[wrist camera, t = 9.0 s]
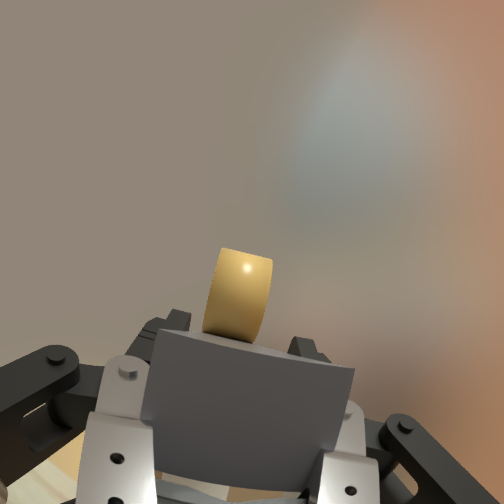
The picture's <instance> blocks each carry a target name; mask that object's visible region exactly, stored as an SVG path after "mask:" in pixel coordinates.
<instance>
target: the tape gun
mask: <svg viewBox="0 0 504 504" xmlns="http://www.w3.org/2000/svg"><path fill="white" fill-rule="evenodd" d="M272 269H273V263H272V260H271V259H268V258H264V257H260V256H256V255H251V254H248V253H243V252H239V251H235V250H231V249H227V248H222V249H221V252H220V255H219V258H218V261H217V265H216V269H215V272H214V276H213V280H212V284H211V288H210V292H209V297H208V301H207V305H206V310H205V315H204V321H203V326H202V332H192V331H178V330H166V329H158V331H157V336H156V340H155V344H154V349H153V353H152V358H151V362H150V367H149V372H148V376H147V381H146V386H145V391H144V397H143V402H142V407H141V413H140V418H139V419H144V420H152V425H153V457H154V470H157V471H160V472H164V473H167V474H171V475H175V476H179V477H183V478H188V479H192V480H197V481H202V482H207V483H212V484H218V485H224V486H231V487H238V488H246V489H256V490H267V491H282V492H300V491H301V489H302V487H303V485H304V483H305V481H306V479H307V477H308V475H309V473H310V471H311V469H312V467H313V465H314V463H315V460H316V458H317V456H318V454H319V452H320V449H321V448H323V449H327V450H332V451H334V450H335V447H336V443H337V440H338V436H339V433H340V429H341V426H342V422H343V418H344V414H345V411H346V407H347V402H348V398H349V394H350V390H351V385H352V381H353V376H354V371H355V369H354V368H349V367H344V366H339V365H335V364H331V363H326V362H322V361H317V360H313V359H309V358H304V357H300V356H296V355H292V354H288V353H284V352H280V351H277V350H273V349H269V348H266V347H262V346H258V345H255V344H252V343H253V342H254V341H255V339H256V337H257V334H258V332H259V329H260V326H261V323H262V319H263V316H264V312H265V308H266V304H267V300H268V295H269V290H270V285H271V278H272Z"/></svg>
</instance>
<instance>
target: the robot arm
mask: <svg viewBox="0 0 504 504" xmlns="http://www.w3.org/2000/svg"><path fill="white" fill-rule="evenodd" d="M190 321H191V313H188V312H184V311H180V310H176V309H172V310H171V312H170V314H169V315H168V317H167V319H166V320H165V319H161V318H158V317H156V318H154V319H152V320H150V321H148V322H147V323H146V324H145V326H144V327H143V328H142V330H141V331H140V333H139V334H138V336H137V337H136V339H135V340H134V341H133V343H132V344H131V346H130V347H129V349H128V350H127V352H126V353H125V355H121V356H116V357H113V358H111V359H110V360H108V361H107V363H106V365H105V366H92V365H85V364H79V358H78V356H77V354H76V353H75V352H74V351H73V350H72V349H70V348H68V347H65V346H62V345H49V346H46V347H43V348H41V349H39V350H37V351H34V352H32V353H30V354H28V355H26V356H24V357H22V358H20V359H17V360H15V361H13V362H11V363H9V364H7V365H5V366H2V367H0V504H6V502H7V497H8V492H7V488H6V487H8V486H9V485H11V484H12V483H13V482H15V481H16V480H18V479H19V478H21V477H22V476H23V475H25V474H26V473H28V472H29V471H30V470H32V469H33V468H35V467H36V466H37V465H39V464H40V463H42V462H43V461H44V460H46V459H47V458H48V457H50V456H51V455H52V454H54V453H55V452H56V451H58V450H59V449H61V448H62V447H63V446H65V445H66V444H67V443H69V442H70V441H71V440H73V439H74V438H75V437H77V436H78V435H79V434H80V433H82V432H83V431H84V430H85V429H86V430H85V436H84V442H83V447H82V454H81V460H80V467H79V475H78V483H77V493H76V498H74V499H72V500H69V501H67V502H64V503H61V504H500V503H499V502H498V501H497V500H496V499H495V498H494V497H493V496H492V495H491V494H490V493H489V492H488V491H487V490H486V489H485V488H484V487H483V486H482V485H481V484H480V483H479V482H478V481H477V480H476V479H475V478H474V477H473V476H471V475H470V474H469V473H468V471H467V470H465V468H463V467H462V466H461V465H460V464H459V463H458V462H457V461H456V460H455V459H454V458H453V457H452V456H451V455H450V454H449V453H448V452H447V451H446V450H445V449H444V448H443V447H442V446H441V445H440V444H439V443H438V442H437V441H436V440H435V439H434V438H433V437H432V436H431V435H430V434H429V433H428V432H427V431H426V430H425V429H424V428H423V427H422V426H421V425H420V424H419V423H418V422H417V421H416V420H415V419H413V418H412V417H410V416H407V415H404V414H392V415H390V416H389V417H388V419H387V420H386V422H385V423H381V422H376V421H373V420H369V419H366V418H364V414H363V411H362V410H361V408H360V407H359V406H358V405H357V404H355V403H354V402H352V401H350V400H348V402H347V407H346V411H345V414H344V418H343V422H342V426H341V429H340V433H339V436H338V440H337V443H336V447H335V450H334V451H332V450H327V449H323V448H321V449H320V452H319V454H318V456H317V458H316V460H315V463H314V465H313V467H312V469H311V471H310V473H309V475H308V477H307V479H306V481H305V483H304V485H303V487H302V489H301V491H300V492H284V495H283V498H270V499H263V500H255V501H245V502H228V501H225V500H222V499H219V498H216V497H214V496H211V495H208V494H206V493H203V492H201V491H198V490H196V489H193V488H191V487H189V486H185V485H181V484H176V483H172V482H168V481H165V480H161V479H157V478H155V474H154V457H153V425H152V420H144V419H139V418H140V413H141V407H142V402H143V397H144V391H145V386H146V381H147V376H148V372H149V367H150V362H151V358H152V353H153V349H154V344H155V340H156V336H157V331H158V329H166V330H178V331H189V326H190ZM287 353H288V354H292V355H296V356H300V357H304V358H309V359H313V360H317V361H322V362H326V363H331V361H330V360H329V359H328V358H327V357H326V356H325V355H324V354H323V353H318V352H317V349H316V346H315V343H314V341H313V340H312V339H307V338H301V337H296V336H295V337H293V339H292V341H291V344H290V347H289V349H288V352H287ZM331 364H332V363H331ZM44 403H46V404H45V405H43V406H41V407H40V408H38V409H37V410H35V411H33V412H32V413H30V414H29V415H27V416H25V417H23V416H24V415H26V414H27V413H29V412H30V411H32V410H34V409H35V408H37V407H39V406H40V405H42V404H44ZM399 463H400V464H401V465H402V466H403V467H404V468H405V469H406V470H407V472H408V473H409V474H410V475H411V476H412V477H413V478H414V479H415V481H416V482H417V484H418V492H417V494H416V495H415V496H414V495H412V494H411V492H410V491H409V490H408V489H407V488H406V487H405V485H404V484H403V483H402V482H401V481H400V480H399V478H398V477H397V476H396V475H395V473H394V472H393V470H394V469H395V468H396V466H397V465H398V464H399Z"/></svg>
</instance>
